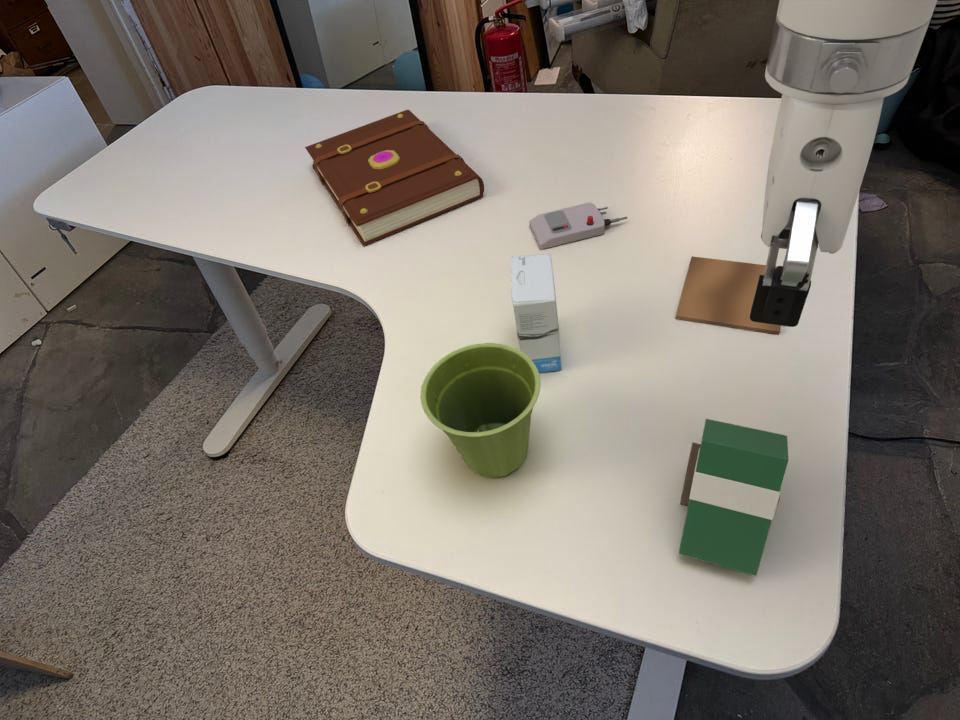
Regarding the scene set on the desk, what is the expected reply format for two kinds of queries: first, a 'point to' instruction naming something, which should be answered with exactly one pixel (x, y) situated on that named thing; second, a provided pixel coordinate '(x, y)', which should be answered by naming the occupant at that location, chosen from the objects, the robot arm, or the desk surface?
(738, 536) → the block
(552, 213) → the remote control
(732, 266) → the coaster
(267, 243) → the desk surface
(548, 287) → the ink box
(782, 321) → the robot arm
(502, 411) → the plant pot
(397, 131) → the book
